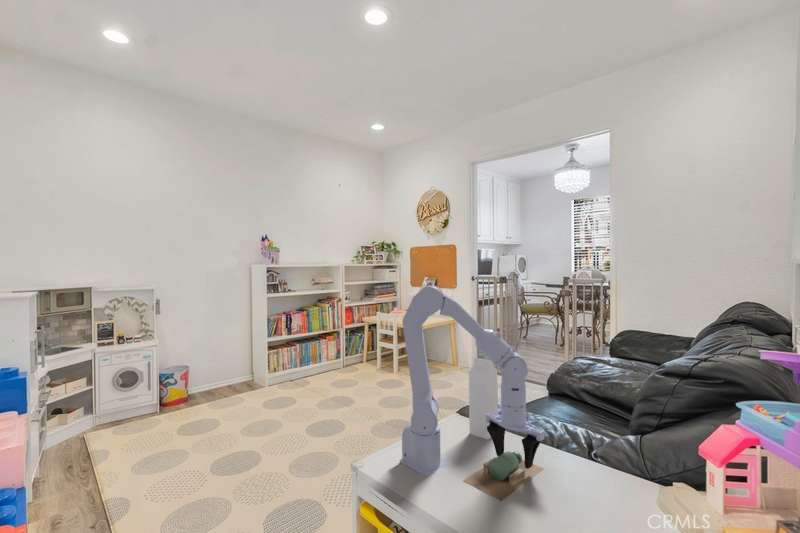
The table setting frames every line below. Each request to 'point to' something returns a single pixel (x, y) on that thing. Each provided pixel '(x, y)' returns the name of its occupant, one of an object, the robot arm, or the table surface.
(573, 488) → the table surface
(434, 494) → the table surface
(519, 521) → the table surface
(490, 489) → the rest board
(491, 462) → the bottle
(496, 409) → the milk
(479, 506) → the table surface
